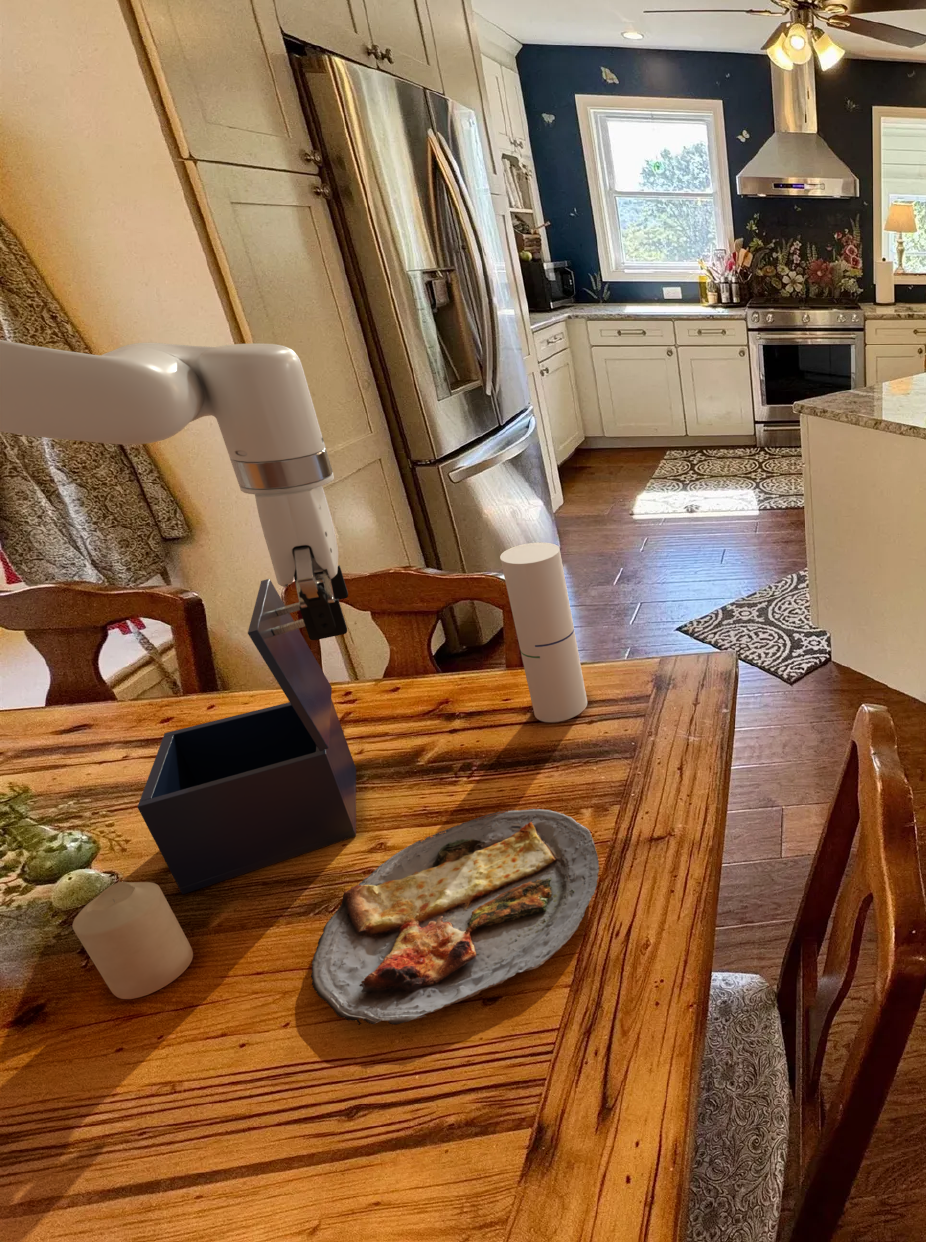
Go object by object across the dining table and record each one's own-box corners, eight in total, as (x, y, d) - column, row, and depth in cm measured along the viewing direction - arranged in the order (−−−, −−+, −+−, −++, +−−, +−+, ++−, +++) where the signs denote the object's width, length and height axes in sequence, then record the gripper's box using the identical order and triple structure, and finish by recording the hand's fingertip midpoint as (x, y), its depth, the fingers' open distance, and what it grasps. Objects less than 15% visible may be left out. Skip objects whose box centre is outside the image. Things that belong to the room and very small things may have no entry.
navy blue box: (182, 895, 77) (136, 807, 72) (202, 814, 87) (164, 732, 82) (356, 836, 84) (325, 753, 80) (356, 768, 95) (329, 691, 90)
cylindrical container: (584, 718, 106) (555, 561, 96) (530, 725, 104) (494, 566, 94) (589, 690, 112) (563, 540, 102) (538, 697, 110) (506, 544, 100)
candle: (130, 957, 70) (86, 880, 66) (204, 938, 72) (165, 863, 68) (99, 1009, 65) (49, 930, 61) (179, 987, 67) (135, 909, 63)
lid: (247, 633, 72) (313, 613, 75) (260, 580, 82) (318, 564, 85) (320, 751, 79) (378, 729, 82) (324, 690, 90) (375, 672, 92)
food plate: (303, 1084, 60) (290, 1057, 59) (330, 885, 78) (320, 860, 77) (621, 946, 73) (616, 920, 71) (581, 801, 91) (576, 779, 89)
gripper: (245, 453, 79) (292, 594, 86) (224, 500, 66) (281, 662, 73) (332, 445, 83) (370, 581, 90) (328, 488, 70) (373, 642, 77)
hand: (330, 617), depth 81 cm, fingers open, 9 cm apart
